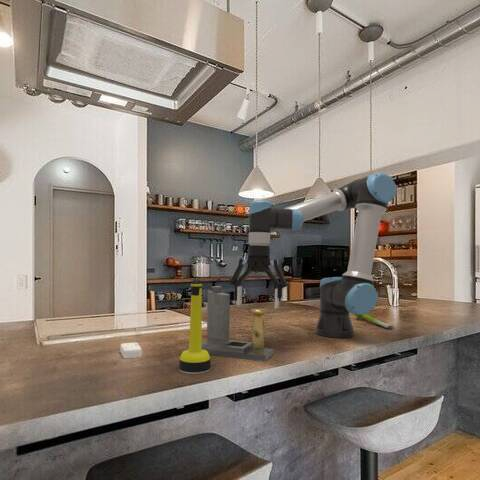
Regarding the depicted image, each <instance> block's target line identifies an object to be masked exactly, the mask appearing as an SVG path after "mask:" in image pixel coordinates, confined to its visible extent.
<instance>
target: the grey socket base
mask: <svg viewBox="0 0 480 480" xmlns="http://www.w3.org/2000/svg"><path fill="white" fill-rule="evenodd" d="M202 350H206V351H208V353H209V356H211V355H212V356H217V357H219V356H220V357H225V358H226V357H227V358H228V357H229V358H234V357H235V358H236V359H242V358H243V360H250V359H251V361H258V360H261V361H262V362H267V360H268V359H270V358H271V357H272V356H273V355H274V349H273V348H266V347H264V348H258V347H253V342H252V341H243V340H234V339H229V340H226V339H217V338H211V339H210V338H208V339H207V340H205V341H203V342H202ZM269 357H270V358H269ZM235 358H234V359H235ZM261 361H260V362H261Z"/></svg>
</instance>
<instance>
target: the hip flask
mask: <svg viewBox="0 0 480 480" xmlns="http://www.w3.org/2000/svg"><path fill="white" fill-rule="evenodd" d="M211 289H212V290H207V307H206V308H207V309H206V311H207V312H206V315H207V316H206V318H207V319H206V337H207V338H208V339H211V338H217V339H226V340H230V324H231V323H230V318H231V317H230V315H231V313H230V311H231V310H230V309H231V306H230V305H231V304H230V303H231V294H229V293H223V292H222V290H221V289H222V286H221V285H215V286H211Z"/></svg>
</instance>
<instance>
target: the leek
mask: <svg viewBox="0 0 480 480" xmlns="http://www.w3.org/2000/svg"><path fill="white" fill-rule="evenodd" d="M353 315H354V316H355V317H356V320H361V319H362V318H364V319H365V320H368V321H370V322H372V323H374V324H377V325H378V326H381V327H383V328H385V329H390V328H391V329H390V330H393V329H394V330H395V326H393V324H392V325H391V324H389V323H387V322H383V321H382V320H379V319H377V318H374V317H372V316H370V315H368V314H364V315H359V314H353Z"/></svg>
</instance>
